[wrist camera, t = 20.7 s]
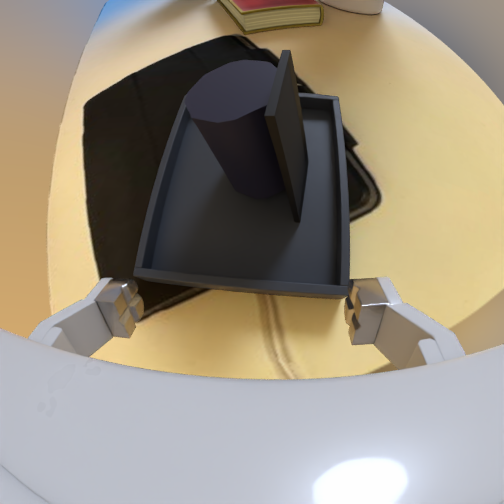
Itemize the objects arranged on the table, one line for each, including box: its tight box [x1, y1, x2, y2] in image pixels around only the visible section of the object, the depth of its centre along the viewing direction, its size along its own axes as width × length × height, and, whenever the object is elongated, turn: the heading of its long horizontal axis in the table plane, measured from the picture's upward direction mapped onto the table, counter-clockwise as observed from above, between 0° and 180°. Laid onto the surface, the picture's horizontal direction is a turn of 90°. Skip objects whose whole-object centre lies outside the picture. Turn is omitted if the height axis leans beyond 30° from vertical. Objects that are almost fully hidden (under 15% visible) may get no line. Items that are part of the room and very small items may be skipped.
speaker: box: [184, 50, 309, 223], centre depth 16 cm, size 8×6×10 cm
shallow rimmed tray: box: [133, 93, 350, 299], centre depth 20 cm, size 17×14×2 cm
